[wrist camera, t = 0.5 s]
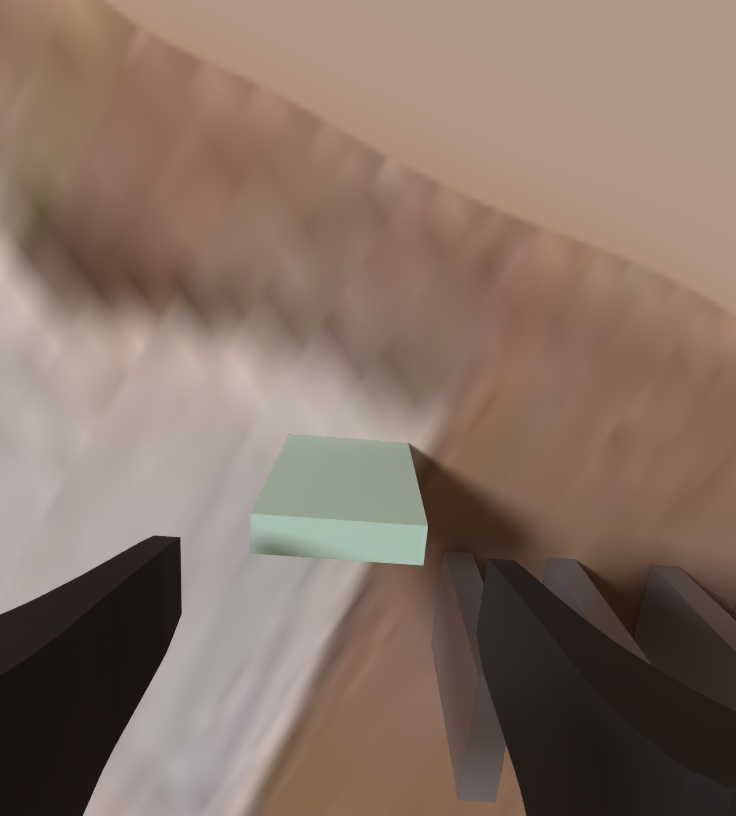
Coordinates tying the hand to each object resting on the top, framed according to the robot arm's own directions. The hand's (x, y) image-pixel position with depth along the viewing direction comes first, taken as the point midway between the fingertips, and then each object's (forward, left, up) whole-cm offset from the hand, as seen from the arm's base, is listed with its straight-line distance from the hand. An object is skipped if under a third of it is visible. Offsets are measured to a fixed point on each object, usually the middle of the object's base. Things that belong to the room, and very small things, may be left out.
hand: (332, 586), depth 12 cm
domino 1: (-8, +3, -9) cm, 12 cm away
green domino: (0, 0, -9) cm, 9 cm away
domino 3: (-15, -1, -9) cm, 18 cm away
